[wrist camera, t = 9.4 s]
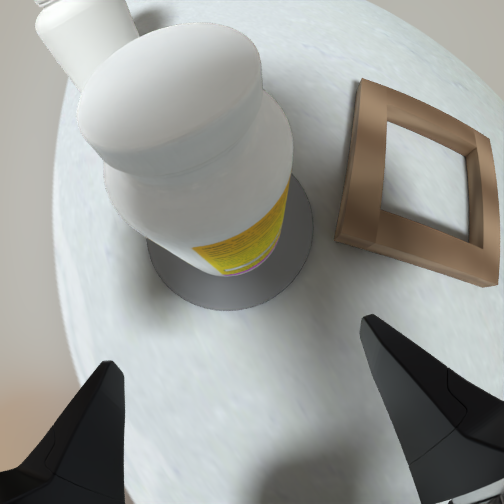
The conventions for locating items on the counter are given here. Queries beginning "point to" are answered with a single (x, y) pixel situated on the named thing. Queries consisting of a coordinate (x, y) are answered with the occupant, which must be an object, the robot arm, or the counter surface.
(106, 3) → the pill bottle
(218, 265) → the supplement bottle
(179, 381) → the counter surface
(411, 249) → the pocket block
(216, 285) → the coaster
